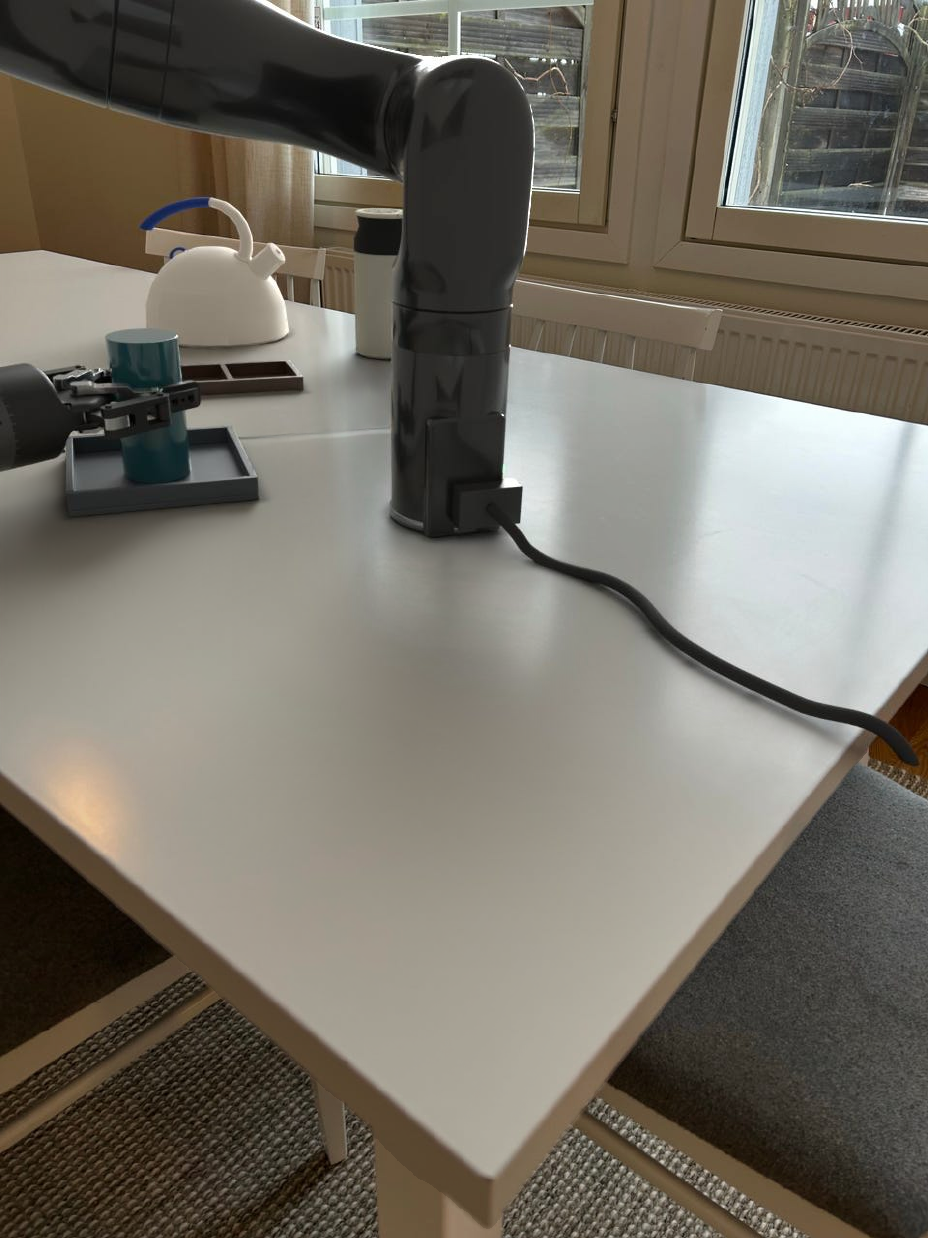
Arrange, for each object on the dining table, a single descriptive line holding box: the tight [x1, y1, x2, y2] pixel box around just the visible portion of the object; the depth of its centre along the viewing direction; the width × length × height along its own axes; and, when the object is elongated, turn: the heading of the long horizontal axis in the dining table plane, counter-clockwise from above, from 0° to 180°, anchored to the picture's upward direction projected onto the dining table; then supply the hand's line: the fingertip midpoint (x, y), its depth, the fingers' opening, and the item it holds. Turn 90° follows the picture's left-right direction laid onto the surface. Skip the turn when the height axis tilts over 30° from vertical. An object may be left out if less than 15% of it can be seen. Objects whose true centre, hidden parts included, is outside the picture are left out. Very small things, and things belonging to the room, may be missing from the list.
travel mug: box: [353, 207, 403, 360], centre depth 126 cm, size 8×8×18 cm
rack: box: [181, 359, 305, 397], centre depth 112 cm, size 8×16×2 cm, turn 110°
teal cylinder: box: [104, 327, 192, 483], centre depth 82 cm, size 6×6×12 cm
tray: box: [65, 424, 260, 518], centre depth 85 cm, size 15×15×2 cm
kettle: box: [139, 196, 290, 348], centre depth 133 cm, size 20×21×18 cm
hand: (170, 384), depth 83 cm, fingers open, 7 cm apart
